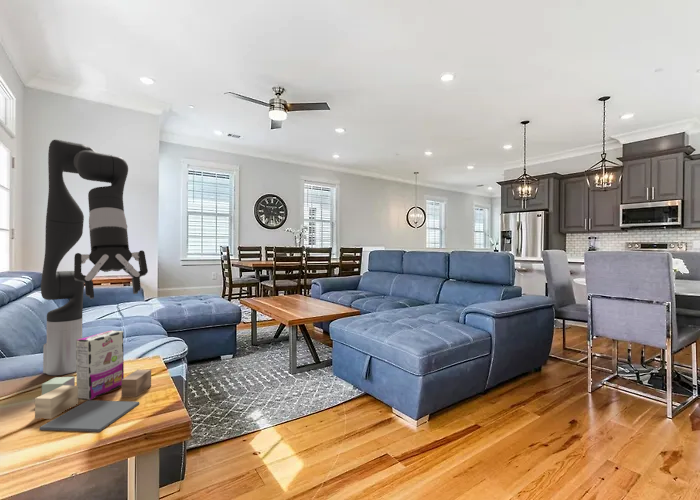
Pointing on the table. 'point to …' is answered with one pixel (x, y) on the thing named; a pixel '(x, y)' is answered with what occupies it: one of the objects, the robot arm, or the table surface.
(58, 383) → the sage cube
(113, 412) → the mat
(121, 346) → the candy bar box
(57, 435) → the table surface
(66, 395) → the beech block
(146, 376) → the walnut block
